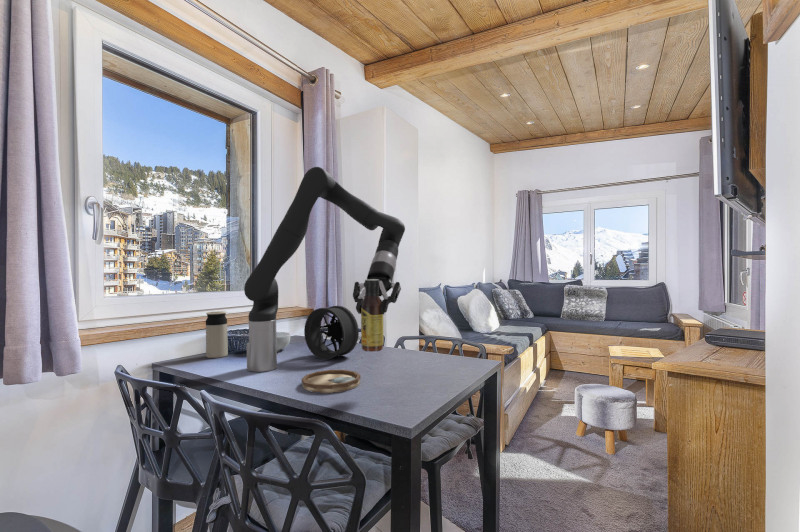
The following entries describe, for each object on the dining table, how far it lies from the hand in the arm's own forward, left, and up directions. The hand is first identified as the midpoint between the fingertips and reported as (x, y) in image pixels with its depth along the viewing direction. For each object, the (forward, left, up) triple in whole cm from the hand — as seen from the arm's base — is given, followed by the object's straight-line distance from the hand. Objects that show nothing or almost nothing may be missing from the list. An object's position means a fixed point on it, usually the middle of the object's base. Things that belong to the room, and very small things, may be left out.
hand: (370, 312), depth 111 cm
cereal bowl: (-53, +58, -23) cm, 82 cm away
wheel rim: (-23, +45, -23) cm, 56 cm away
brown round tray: (-14, +9, -23) cm, 28 cm away
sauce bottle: (0, +2, -11) cm, 11 cm away
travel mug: (-71, +47, -23) cm, 88 cm away
